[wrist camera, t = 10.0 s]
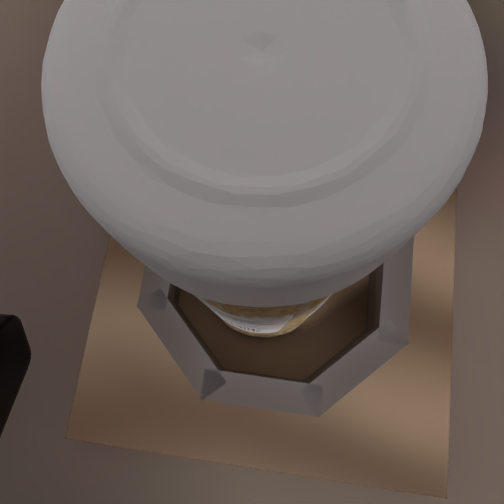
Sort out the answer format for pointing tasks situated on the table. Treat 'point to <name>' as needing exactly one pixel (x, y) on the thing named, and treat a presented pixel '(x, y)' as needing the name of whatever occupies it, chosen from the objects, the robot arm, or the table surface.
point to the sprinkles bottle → (264, 137)
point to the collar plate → (282, 374)
